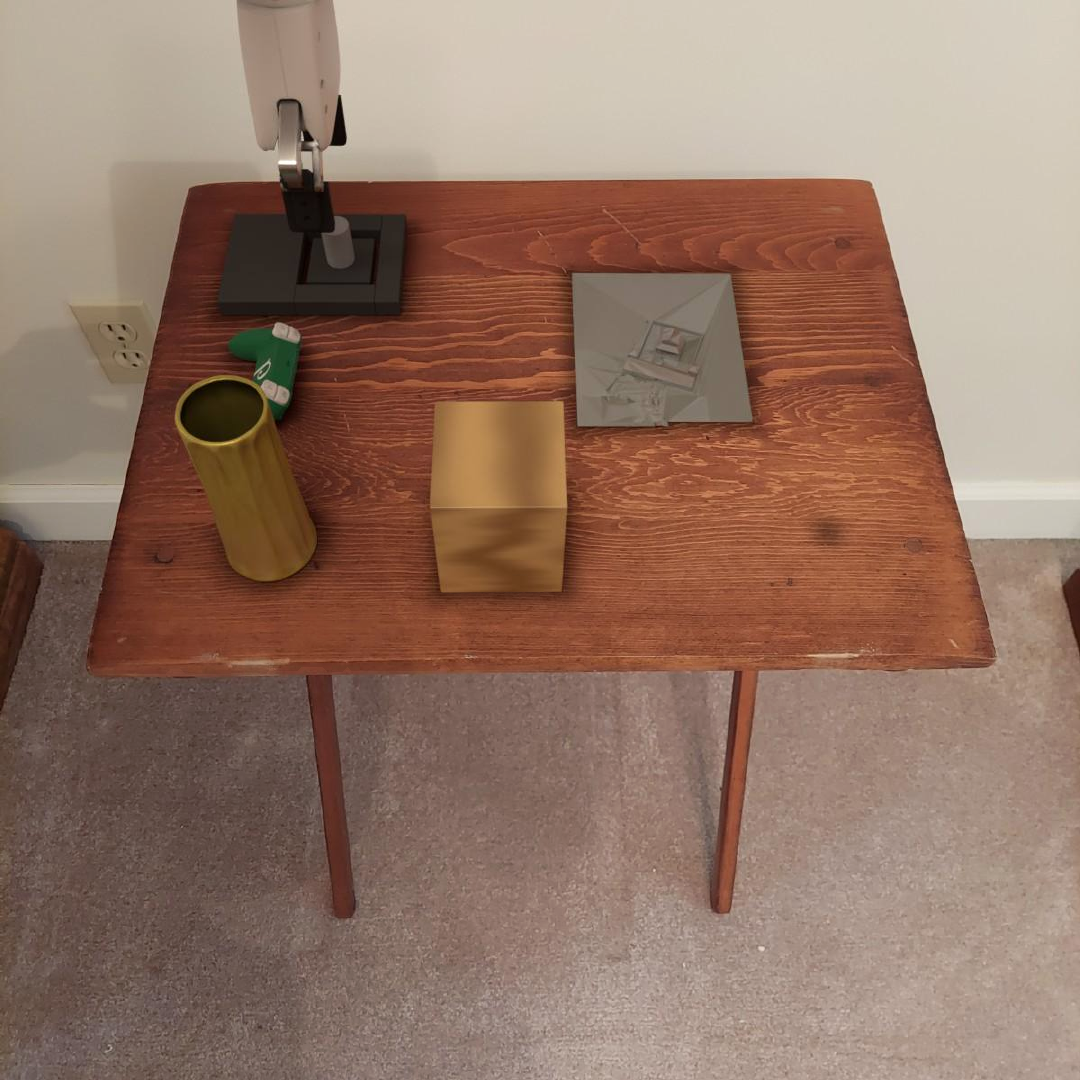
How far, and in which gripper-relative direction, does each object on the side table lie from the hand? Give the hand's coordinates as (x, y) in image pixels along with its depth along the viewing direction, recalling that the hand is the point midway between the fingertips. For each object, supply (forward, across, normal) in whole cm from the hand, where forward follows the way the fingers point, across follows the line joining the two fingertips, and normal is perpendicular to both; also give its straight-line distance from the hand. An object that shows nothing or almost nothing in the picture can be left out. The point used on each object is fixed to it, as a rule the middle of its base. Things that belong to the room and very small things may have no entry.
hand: (319, 185), depth 78 cm
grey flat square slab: (+9, +12, +28) cm, 31 cm away
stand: (+9, +26, +14) cm, 30 cm away
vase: (+9, +26, -2) cm, 27 cm away
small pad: (+9, 0, +1) cm, 9 cm away
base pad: (+9, 0, -2) cm, 9 cm away
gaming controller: (+9, +12, -4) cm, 16 cm away
